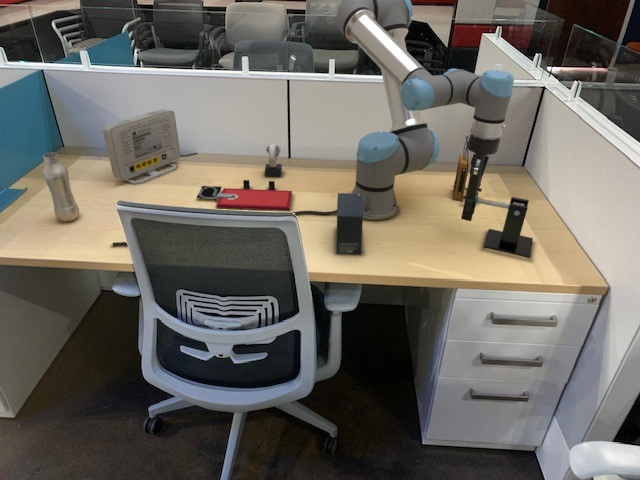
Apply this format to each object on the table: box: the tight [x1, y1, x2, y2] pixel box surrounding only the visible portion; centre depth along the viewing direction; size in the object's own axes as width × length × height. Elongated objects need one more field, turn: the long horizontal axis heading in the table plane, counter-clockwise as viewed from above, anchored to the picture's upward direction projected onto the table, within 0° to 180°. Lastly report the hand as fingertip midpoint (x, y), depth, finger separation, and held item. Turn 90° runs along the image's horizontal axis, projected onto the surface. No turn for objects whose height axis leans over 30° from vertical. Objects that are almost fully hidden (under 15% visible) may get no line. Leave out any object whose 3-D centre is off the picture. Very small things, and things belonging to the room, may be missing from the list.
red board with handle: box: [196, 179, 293, 211], centre depth 154 cm, size 30×3×15 cm
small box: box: [336, 192, 364, 255], centre depth 130 cm, size 13×7×12 cm, turn 178°
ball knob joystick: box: [475, 195, 525, 210], centre depth 129 cm, size 15×4×4 cm, turn 66°
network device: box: [102, 108, 181, 185], centre depth 164 cm, size 26×9×20 cm, turn 144°
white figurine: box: [264, 143, 283, 178], centre depth 168 cm, size 6×8×11 cm
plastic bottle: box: [42, 152, 80, 222], centre depth 136 cm, size 6×7×20 cm
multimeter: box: [452, 135, 482, 204], centre depth 153 cm, size 15×10×20 cm
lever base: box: [483, 196, 534, 259], centre depth 129 cm, size 12×10×14 cm
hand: (467, 215), depth 134 cm, fingers closed on ball knob joystick, 4 cm apart
